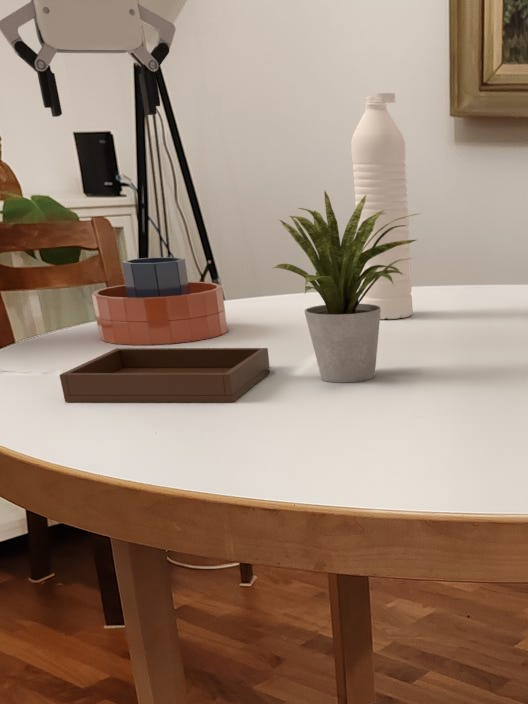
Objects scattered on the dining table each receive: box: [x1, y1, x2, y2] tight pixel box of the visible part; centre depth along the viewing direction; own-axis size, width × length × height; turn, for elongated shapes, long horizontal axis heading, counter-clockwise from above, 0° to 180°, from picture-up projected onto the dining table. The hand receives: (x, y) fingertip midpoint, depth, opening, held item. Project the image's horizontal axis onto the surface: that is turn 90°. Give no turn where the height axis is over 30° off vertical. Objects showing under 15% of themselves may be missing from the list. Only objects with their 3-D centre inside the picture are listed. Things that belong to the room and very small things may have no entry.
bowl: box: [91, 280, 228, 346], centre depth 113 cm, size 14×14×6 cm
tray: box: [59, 347, 271, 403], centre depth 91 cm, size 15×12×2 cm
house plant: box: [272, 190, 422, 383], centre depth 89 cm, size 14×14×16 cm
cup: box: [121, 256, 190, 298], centre depth 112 cm, size 6×6×8 cm
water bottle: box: [350, 92, 414, 320], centre depth 120 cm, size 9×6×25 cm
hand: (104, 115), depth 105 cm, fingers open, 9 cm apart
